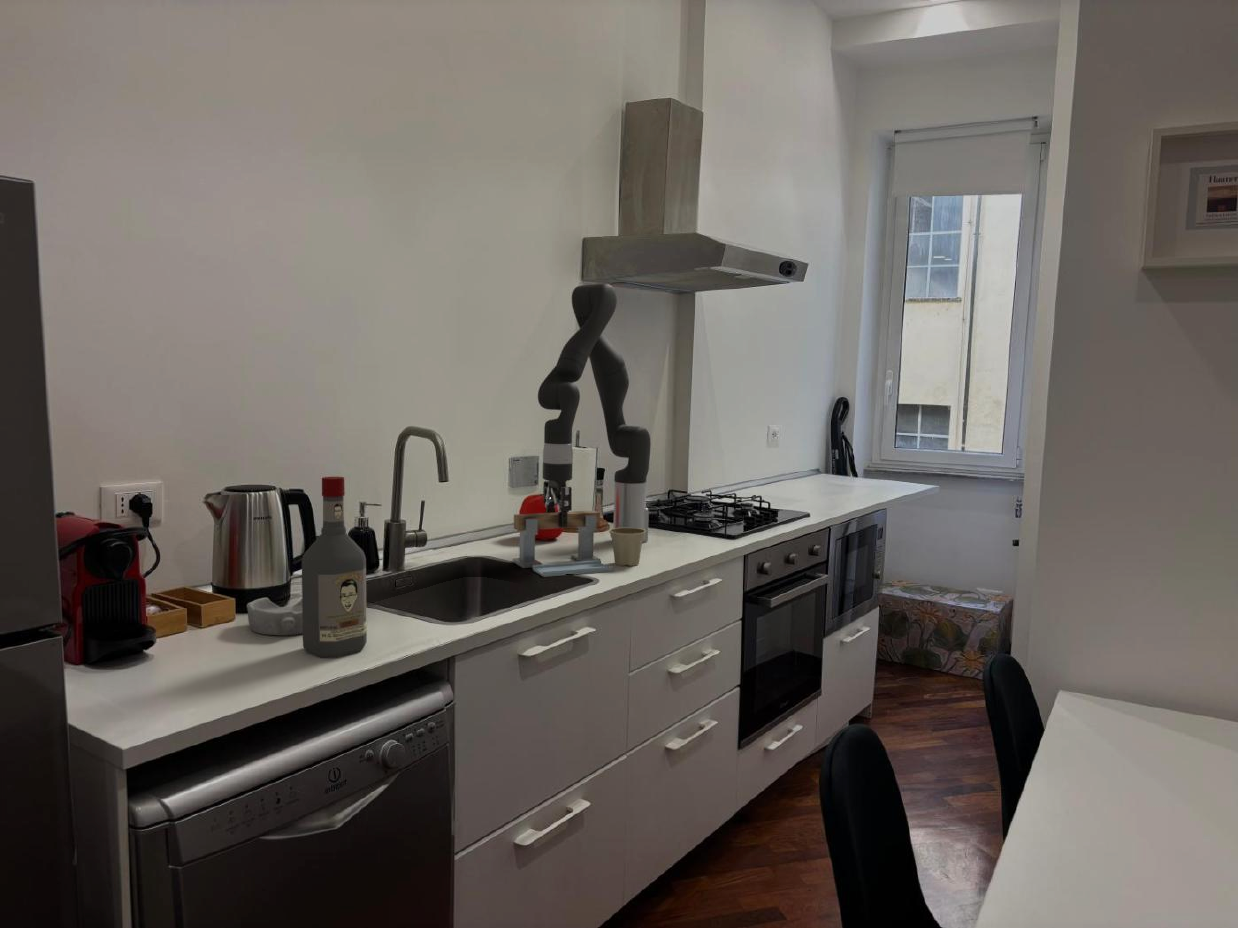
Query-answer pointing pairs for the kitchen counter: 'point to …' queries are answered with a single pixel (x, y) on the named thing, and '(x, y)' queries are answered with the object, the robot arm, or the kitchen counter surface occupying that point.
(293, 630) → the dish
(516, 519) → the rail
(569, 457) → the robot arm
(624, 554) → the flower pot
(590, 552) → the rack
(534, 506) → the tomato
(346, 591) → the liquor
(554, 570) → the mat
